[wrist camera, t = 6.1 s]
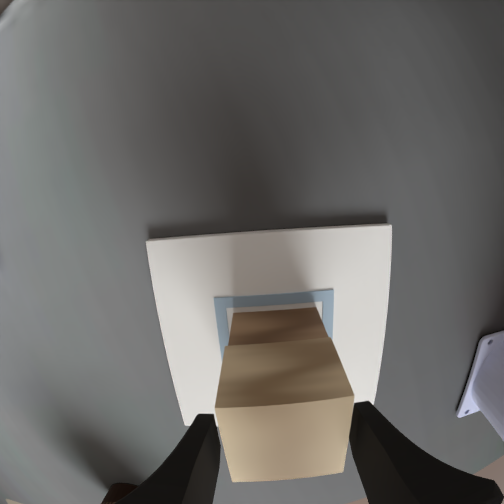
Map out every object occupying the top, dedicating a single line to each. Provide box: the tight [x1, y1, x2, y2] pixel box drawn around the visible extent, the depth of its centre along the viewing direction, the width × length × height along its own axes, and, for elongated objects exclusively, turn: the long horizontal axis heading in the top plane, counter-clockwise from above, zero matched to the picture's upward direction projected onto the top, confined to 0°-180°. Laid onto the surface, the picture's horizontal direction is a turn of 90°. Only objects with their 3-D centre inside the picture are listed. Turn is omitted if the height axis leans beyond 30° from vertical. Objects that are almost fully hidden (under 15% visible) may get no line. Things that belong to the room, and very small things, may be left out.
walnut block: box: [228, 307, 328, 346], centre depth 16 cm, size 4×4×4 cm
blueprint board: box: [146, 223, 392, 426], centre depth 18 cm, size 13×13×1 cm
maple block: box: [215, 337, 355, 482], centre depth 12 cm, size 4×4×4 cm
